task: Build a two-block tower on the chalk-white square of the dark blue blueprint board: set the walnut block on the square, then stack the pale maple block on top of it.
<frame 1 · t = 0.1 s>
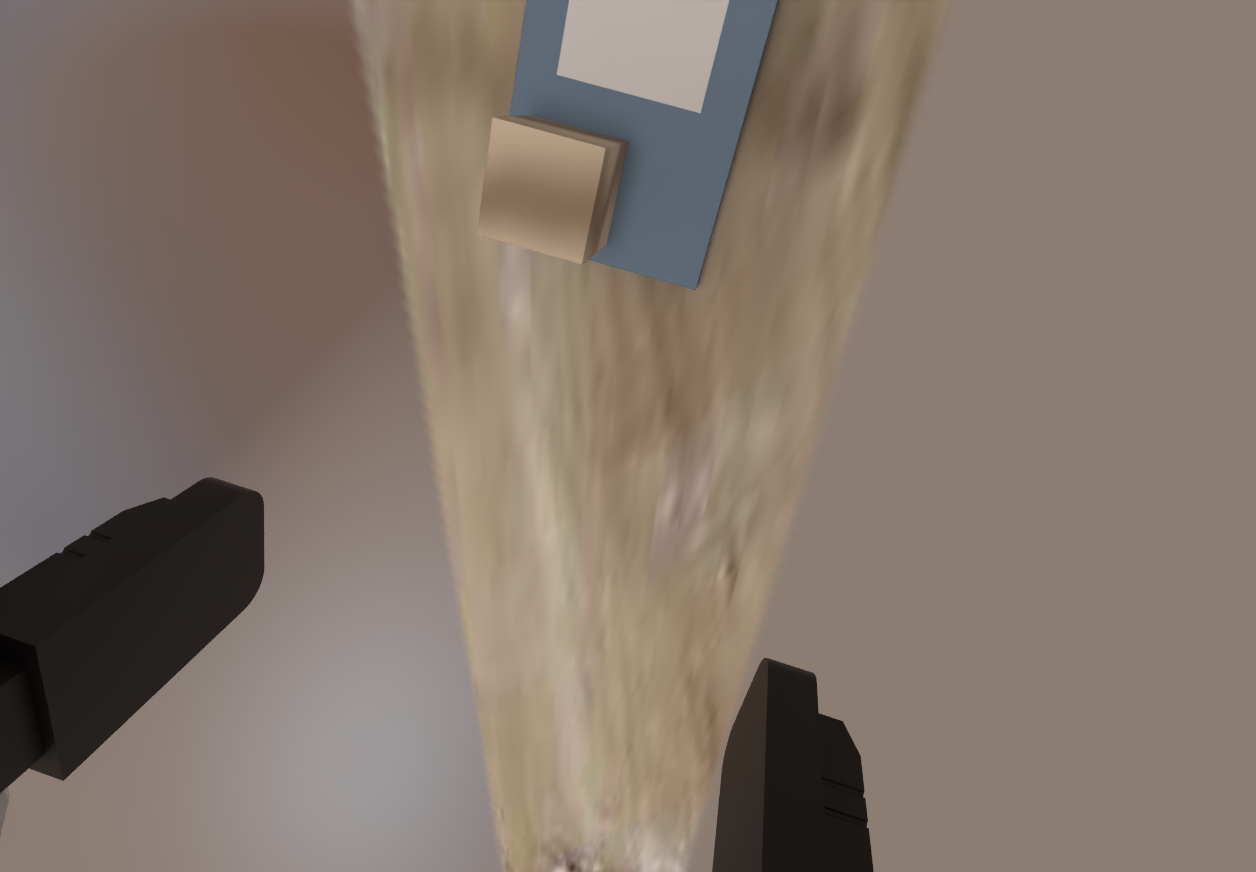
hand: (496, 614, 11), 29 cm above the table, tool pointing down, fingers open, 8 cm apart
blueprint board: (650, 11, 33), on the table
maple block: (569, 181, 36), point 1 cm above the table, touching blueprint board
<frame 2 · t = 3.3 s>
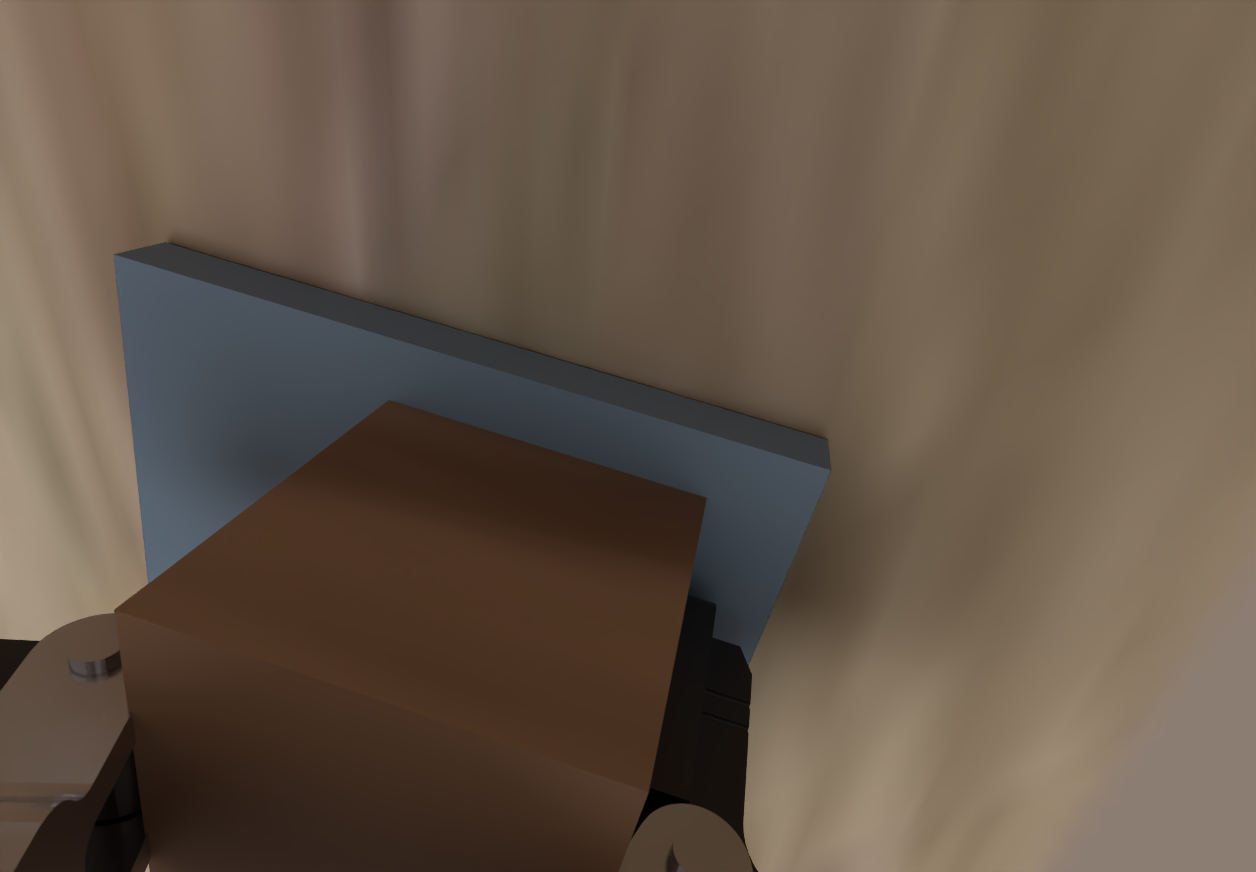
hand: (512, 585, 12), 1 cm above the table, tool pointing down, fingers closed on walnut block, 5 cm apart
blueprint board: (417, 799, 16), on the table
walnut block: (518, 577, 12), point 1 cm above the table, touching blueprint board, gripper
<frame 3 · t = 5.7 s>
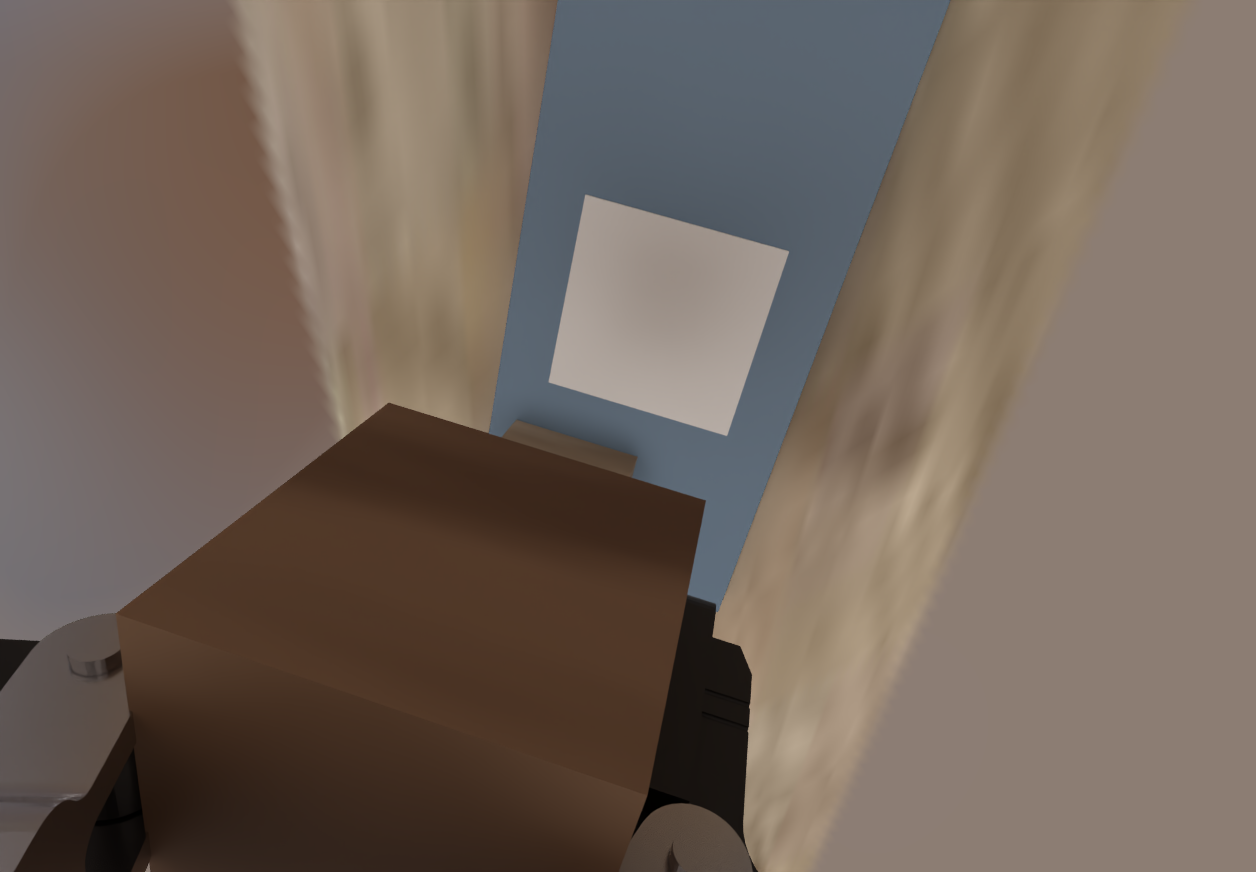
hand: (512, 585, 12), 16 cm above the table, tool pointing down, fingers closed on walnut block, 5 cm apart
blueprint board: (664, 313, 26), on the table
walnut block: (518, 579, 12), point 16 cm above the table, touching gripper
maple block: (564, 490, 29), point 1 cm above the table, touching blueprint board
when the fingers open (2 cm above the table, at t = 8.6 s): walnut block drops 1 cm, resting on blueprint board.
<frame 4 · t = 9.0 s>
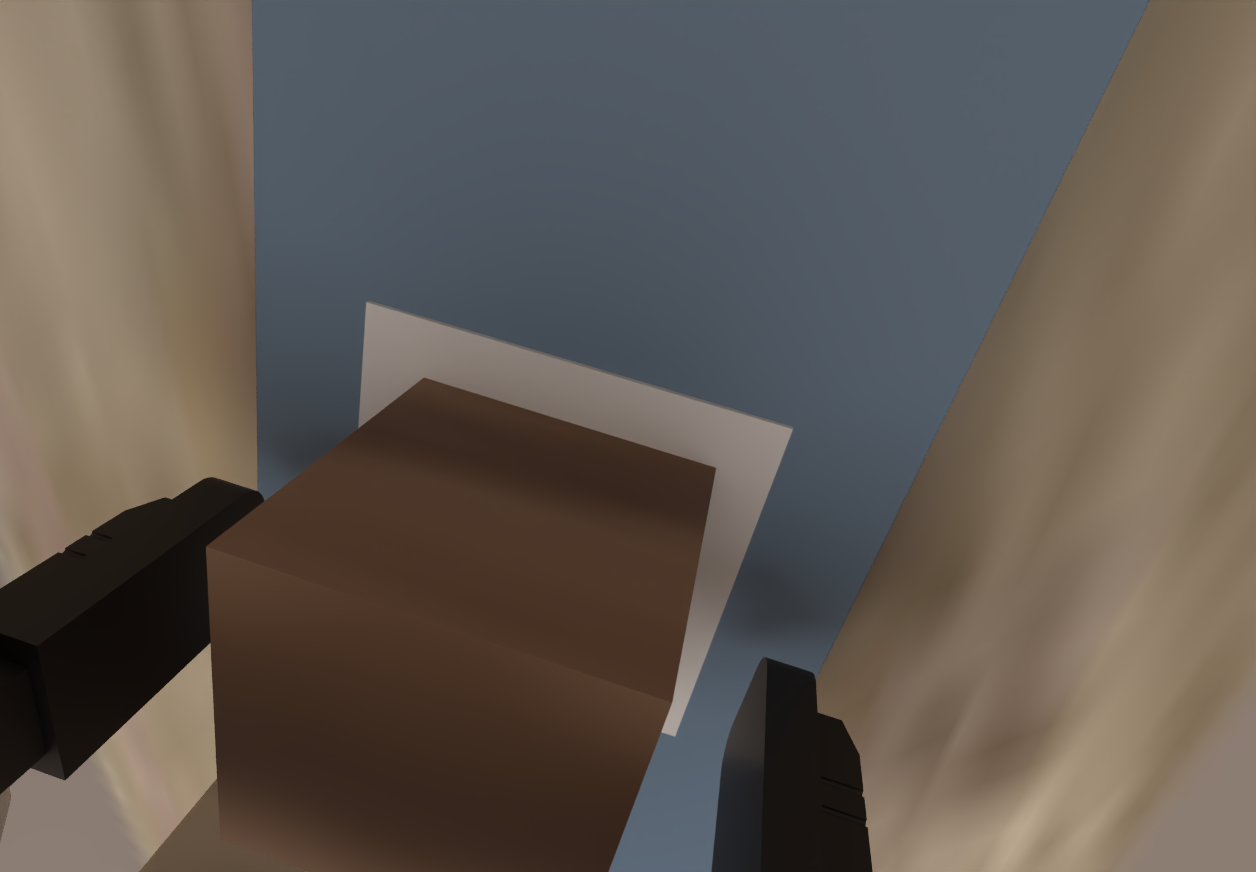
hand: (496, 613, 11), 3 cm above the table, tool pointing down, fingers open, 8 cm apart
blueprint board: (554, 510, 14), on the table
walnut block: (540, 543, 13), point 1 cm above the table, touching blueprint board
maple block: (398, 786, 17), point 1 cm above the table, touching blueprint board
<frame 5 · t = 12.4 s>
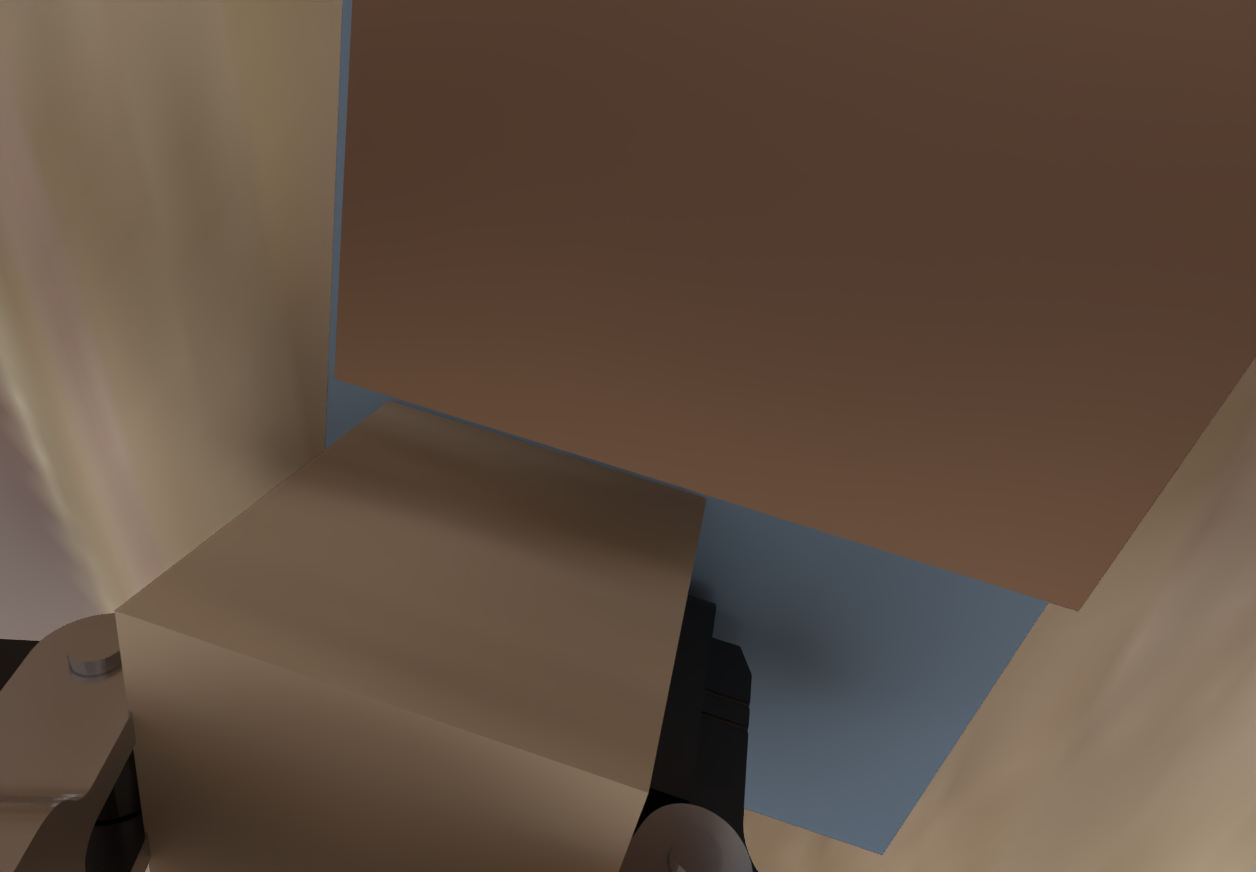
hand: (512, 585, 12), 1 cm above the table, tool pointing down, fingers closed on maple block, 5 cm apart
blueprint board: (798, 82, 9), on the table
walnut block: (806, 83, 8), point 1 cm above the table, touching blueprint board
maple block: (518, 577, 12), point 1 cm above the table, touching blueprint board, gripper
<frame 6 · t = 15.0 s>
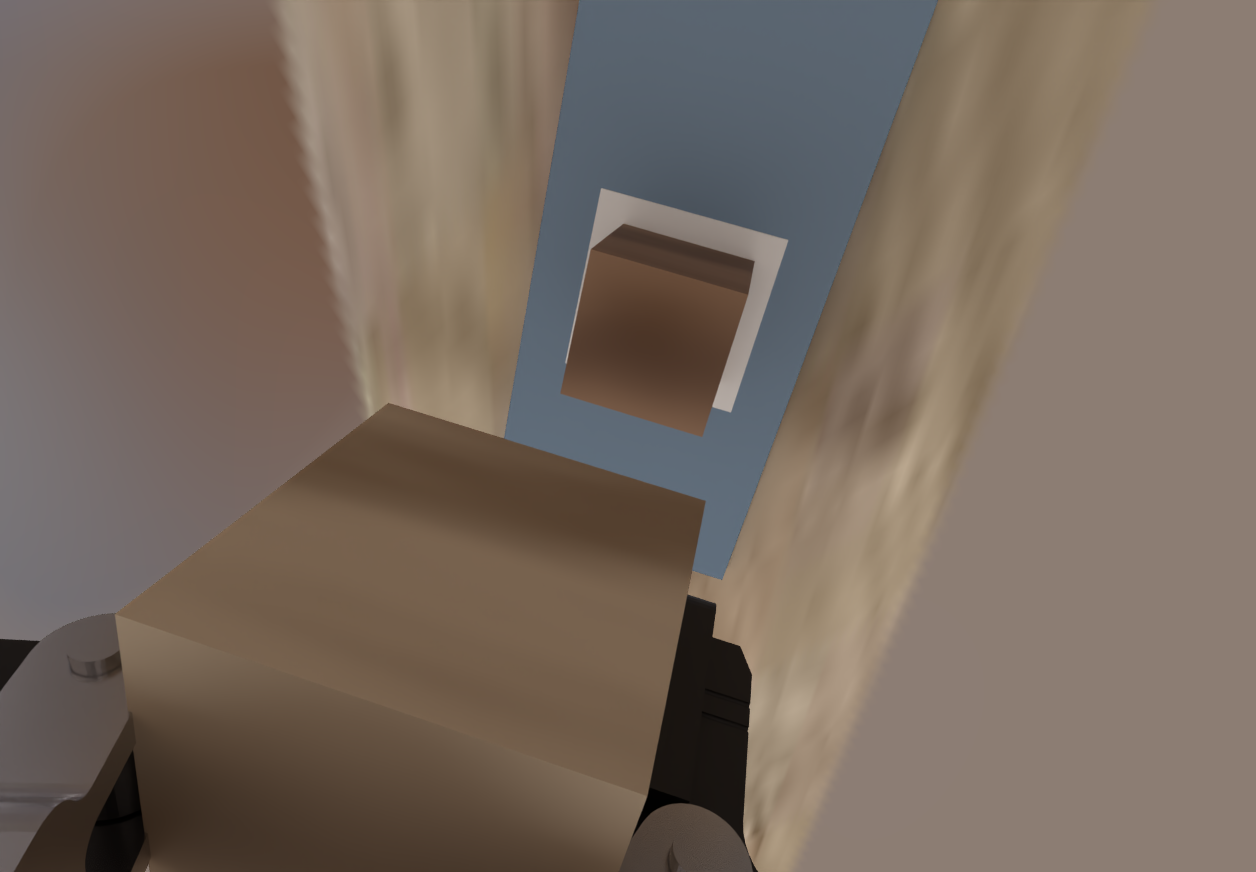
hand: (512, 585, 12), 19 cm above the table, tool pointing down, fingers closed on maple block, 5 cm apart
blueprint board: (673, 298, 28), on the table
walnut block: (671, 306, 27), point 1 cm above the table, touching blueprint board
maple block: (518, 579, 12), point 19 cm above the table, touching gripper
when the fingers open (7 cm above the table, at t = 17.4 s): maple block drops 1 cm, resting on walnut block.
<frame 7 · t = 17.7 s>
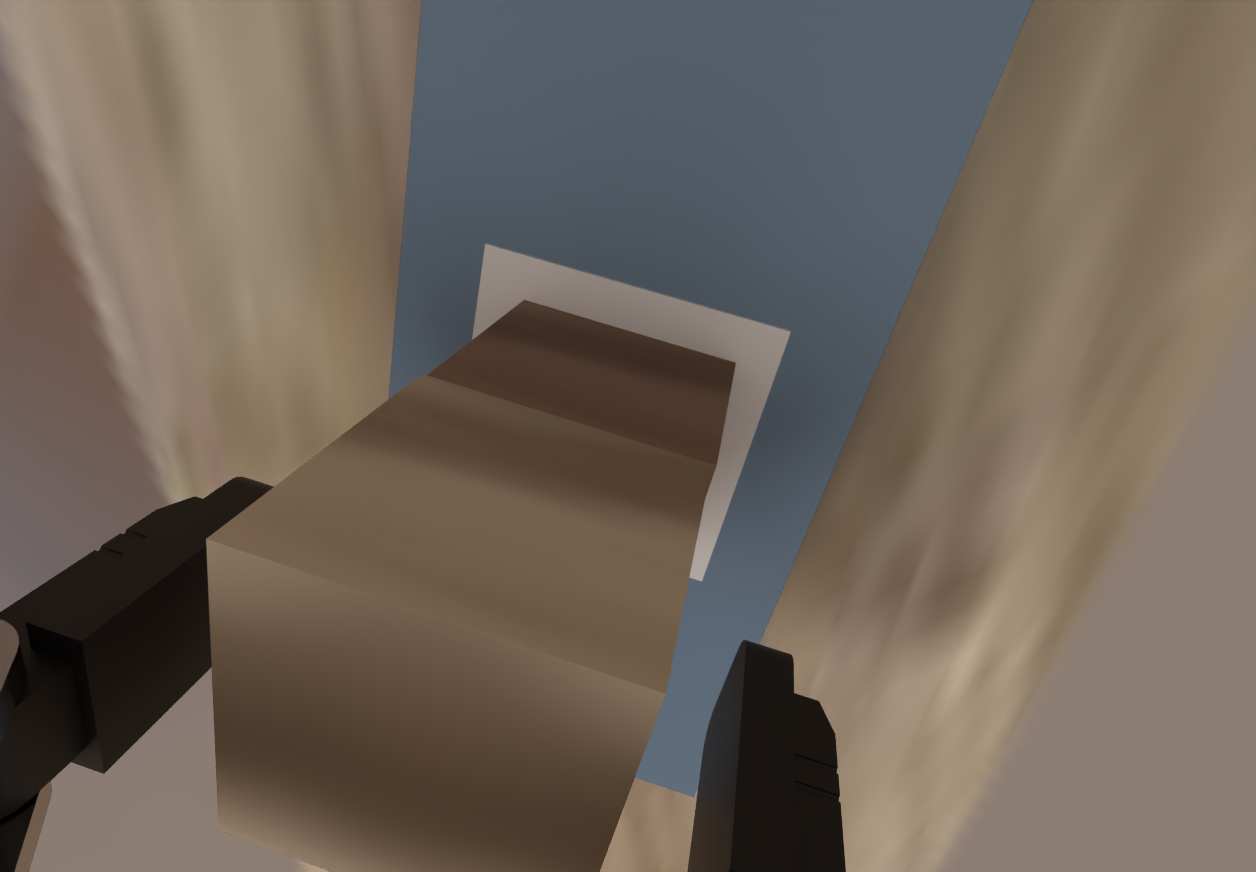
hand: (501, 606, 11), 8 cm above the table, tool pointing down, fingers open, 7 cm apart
blueprint board: (611, 408, 18), on the table
walnut block: (604, 426, 17), point 1 cm above the table, touching blueprint board, maple block
maple block: (537, 539, 13), point 6 cm above the table, touching walnut block
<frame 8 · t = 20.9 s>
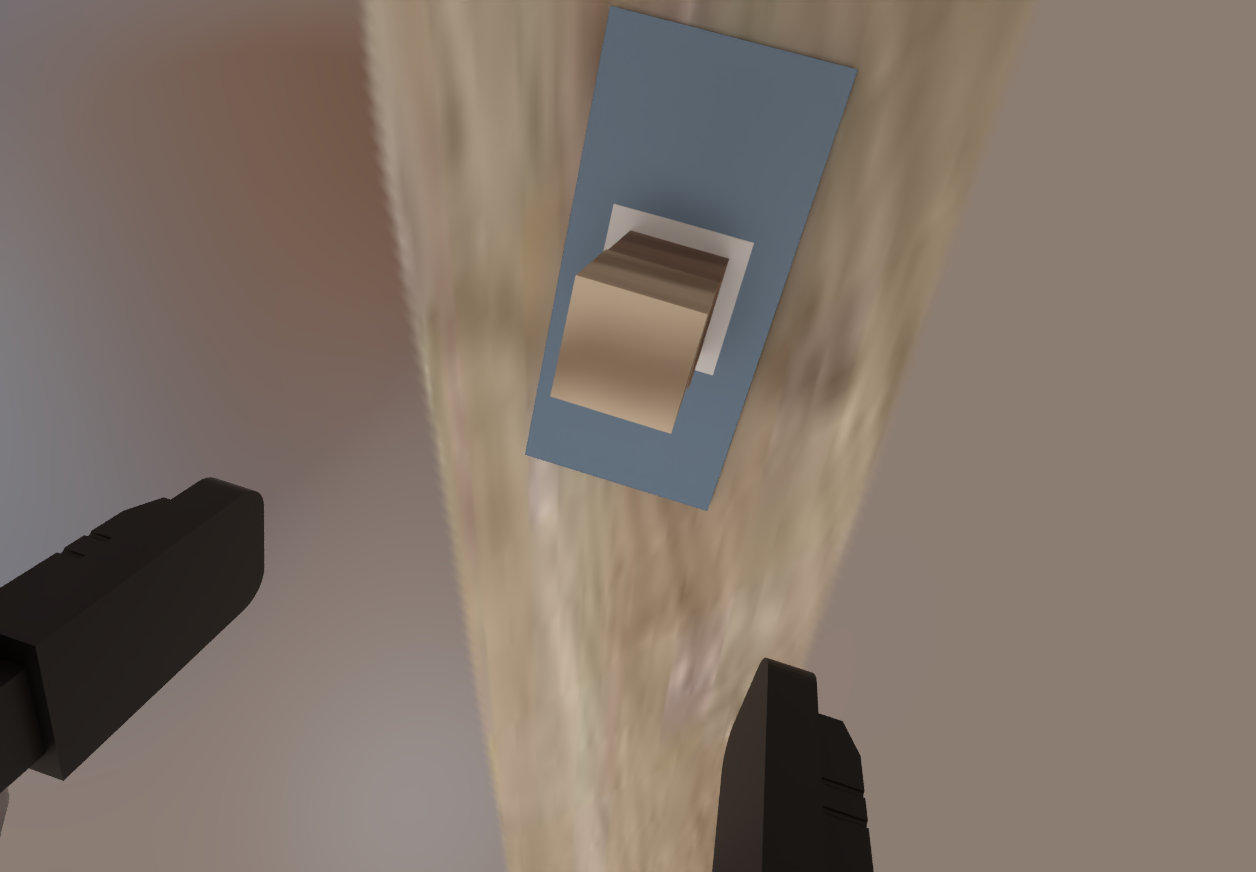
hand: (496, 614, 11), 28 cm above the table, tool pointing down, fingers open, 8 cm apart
blueprint board: (668, 287, 37), on the table
walnut block: (666, 293, 36), point 1 cm above the table, touching blueprint board, maple block
maple block: (647, 320, 31), point 6 cm above the table, touching walnut block
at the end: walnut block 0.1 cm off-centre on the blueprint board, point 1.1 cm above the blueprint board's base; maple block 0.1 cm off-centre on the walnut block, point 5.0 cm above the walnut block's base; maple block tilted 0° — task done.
